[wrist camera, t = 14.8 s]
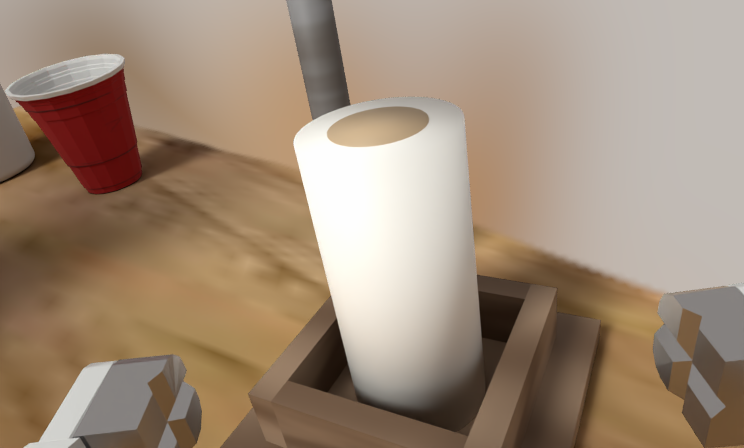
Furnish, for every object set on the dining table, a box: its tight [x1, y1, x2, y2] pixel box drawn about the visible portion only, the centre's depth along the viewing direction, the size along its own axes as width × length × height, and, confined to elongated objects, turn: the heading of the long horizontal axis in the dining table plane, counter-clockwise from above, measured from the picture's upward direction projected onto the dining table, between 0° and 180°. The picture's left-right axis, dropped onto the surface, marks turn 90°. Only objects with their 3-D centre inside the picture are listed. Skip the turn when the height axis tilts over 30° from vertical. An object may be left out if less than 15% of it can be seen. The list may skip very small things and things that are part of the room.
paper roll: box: [294, 97, 485, 432], centre depth 22 cm, size 6×6×13 cm
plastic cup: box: [5, 54, 142, 194], centre depth 55 cm, size 11×11×12 cm
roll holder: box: [220, 0, 601, 448], centre depth 21 cm, size 14×14×23 cm
